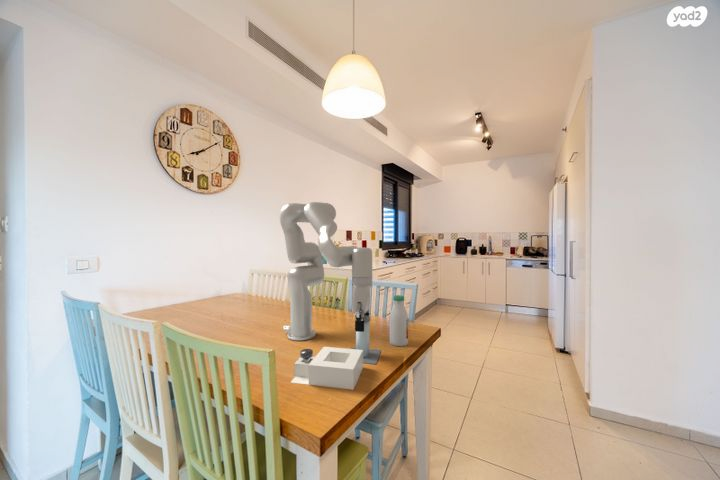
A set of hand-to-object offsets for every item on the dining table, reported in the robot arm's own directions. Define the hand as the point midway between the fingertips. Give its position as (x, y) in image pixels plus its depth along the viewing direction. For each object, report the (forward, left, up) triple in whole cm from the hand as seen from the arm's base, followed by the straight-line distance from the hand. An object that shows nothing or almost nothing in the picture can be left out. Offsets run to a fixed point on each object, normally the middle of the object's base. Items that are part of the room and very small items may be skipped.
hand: (362, 326), depth 107 cm
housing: (-8, -16, -12) cm, 21 cm away
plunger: (-15, -16, -10) cm, 25 cm away
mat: (0, 0, -12) cm, 12 cm away
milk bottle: (+12, +17, -12) cm, 24 cm away
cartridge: (0, 0, -11) cm, 11 cm away
